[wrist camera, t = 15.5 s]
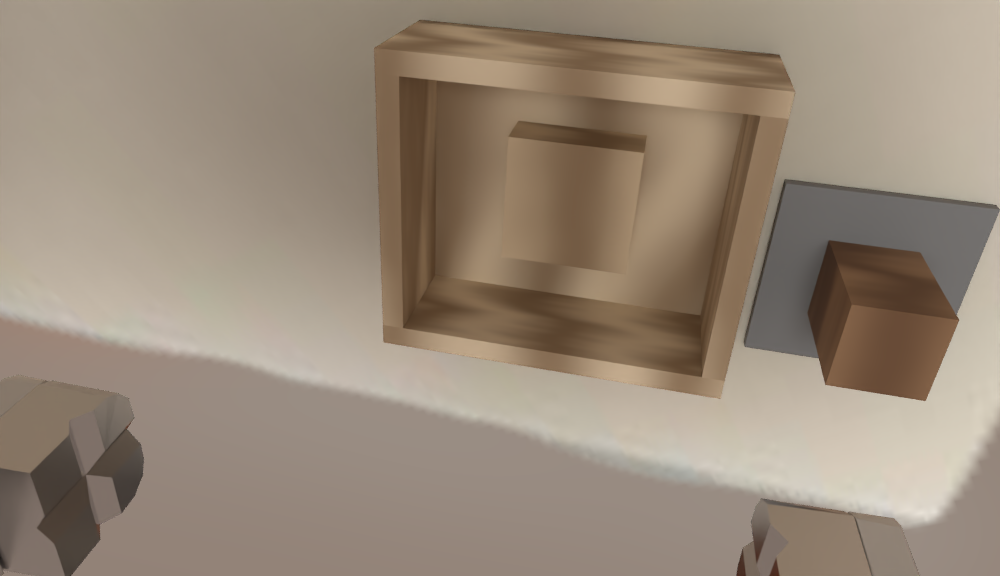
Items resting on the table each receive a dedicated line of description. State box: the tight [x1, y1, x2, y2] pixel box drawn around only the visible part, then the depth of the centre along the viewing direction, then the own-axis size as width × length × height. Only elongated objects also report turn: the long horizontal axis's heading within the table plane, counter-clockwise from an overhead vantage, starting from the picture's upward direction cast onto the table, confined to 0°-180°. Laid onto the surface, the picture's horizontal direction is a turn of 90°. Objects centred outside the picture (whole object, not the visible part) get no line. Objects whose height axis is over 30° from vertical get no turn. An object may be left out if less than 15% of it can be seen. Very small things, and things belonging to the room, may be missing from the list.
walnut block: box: [807, 240, 959, 401], centre depth 34 cm, size 4×4×6 cm
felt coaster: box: [744, 180, 1000, 358], centre depth 37 cm, size 9×9×1 cm
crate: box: [374, 20, 795, 399], centre depth 35 cm, size 16×14×6 cm
